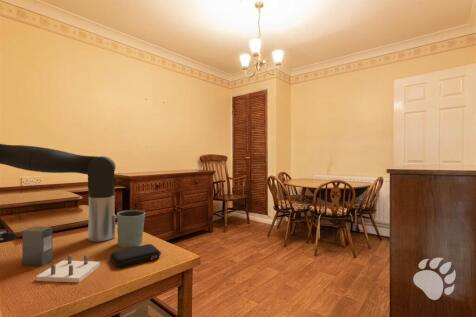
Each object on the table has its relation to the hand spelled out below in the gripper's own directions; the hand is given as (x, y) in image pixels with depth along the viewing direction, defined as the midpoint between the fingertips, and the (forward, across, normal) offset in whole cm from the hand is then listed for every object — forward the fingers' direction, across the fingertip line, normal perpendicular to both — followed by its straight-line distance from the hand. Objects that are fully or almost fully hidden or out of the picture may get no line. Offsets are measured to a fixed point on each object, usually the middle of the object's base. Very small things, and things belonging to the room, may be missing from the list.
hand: (2, 241), depth 78 cm
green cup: (+32, +19, +7) cm, 38 cm away
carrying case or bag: (+40, +6, +7) cm, 41 cm away
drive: (+11, 0, +7) cm, 13 cm away
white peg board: (+25, -5, +7) cm, 26 cm away
